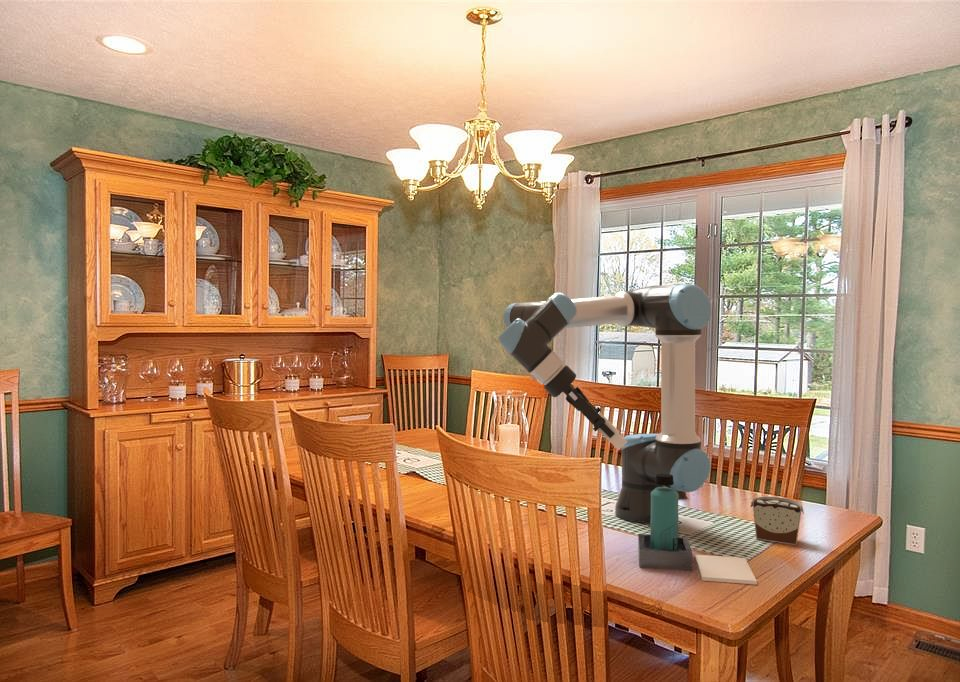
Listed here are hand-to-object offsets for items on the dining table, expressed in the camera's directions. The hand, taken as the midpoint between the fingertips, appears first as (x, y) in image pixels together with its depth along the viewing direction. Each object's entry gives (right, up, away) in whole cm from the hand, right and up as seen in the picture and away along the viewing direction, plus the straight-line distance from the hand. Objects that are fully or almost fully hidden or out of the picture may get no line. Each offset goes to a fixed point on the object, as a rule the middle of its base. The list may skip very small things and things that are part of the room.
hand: (619, 440), depth 158 cm
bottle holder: (+10, -28, 0) cm, 30 cm away
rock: (+28, -26, +59) cm, 70 cm away
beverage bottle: (+10, -28, 0) cm, 30 cm away
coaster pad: (+22, -28, -6) cm, 36 cm away
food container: (+43, -27, +16) cm, 54 cm away
